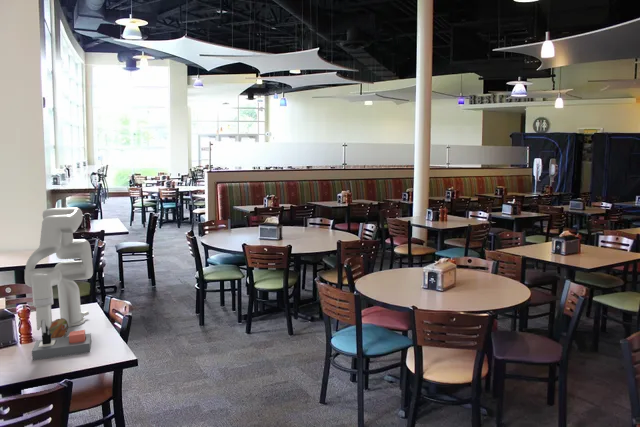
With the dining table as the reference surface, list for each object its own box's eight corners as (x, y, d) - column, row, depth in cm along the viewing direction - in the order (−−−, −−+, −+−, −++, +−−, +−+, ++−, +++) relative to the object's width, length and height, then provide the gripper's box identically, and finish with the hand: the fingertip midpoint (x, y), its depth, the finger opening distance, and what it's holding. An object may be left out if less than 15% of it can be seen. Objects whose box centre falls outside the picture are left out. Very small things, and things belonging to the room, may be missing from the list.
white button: (56, 348, 238) (55, 340, 237) (54, 353, 232) (54, 344, 232) (41, 350, 236) (40, 342, 235) (39, 355, 230) (38, 346, 230)
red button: (85, 338, 241) (85, 329, 241) (84, 342, 236) (84, 333, 235) (70, 340, 239) (70, 331, 239) (69, 344, 234) (68, 335, 233)
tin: (47, 344, 244) (45, 326, 243) (41, 344, 245) (39, 326, 244) (69, 333, 259) (67, 316, 258) (63, 333, 260) (61, 316, 259)
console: (91, 341, 246) (91, 333, 246) (90, 352, 233) (89, 343, 233) (37, 349, 239) (36, 340, 238) (32, 360, 226) (31, 351, 225)
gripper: (36, 298, 237) (39, 339, 239) (30, 307, 223) (34, 350, 225) (55, 296, 239) (58, 336, 241) (51, 304, 225) (54, 347, 227)
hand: (47, 343), depth 233 cm, fingers closed
